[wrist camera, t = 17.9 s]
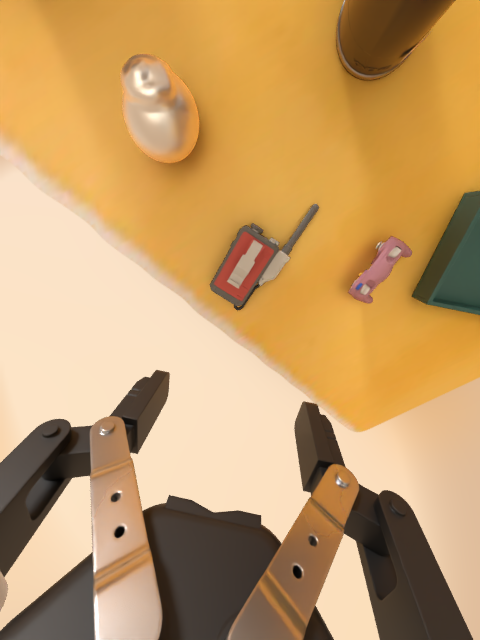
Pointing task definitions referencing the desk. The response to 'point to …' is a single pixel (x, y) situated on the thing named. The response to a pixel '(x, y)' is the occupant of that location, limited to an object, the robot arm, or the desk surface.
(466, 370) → the desk surface
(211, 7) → the desk surface
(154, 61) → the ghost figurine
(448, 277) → the tray
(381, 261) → the video game controller
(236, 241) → the walkie-talkie
